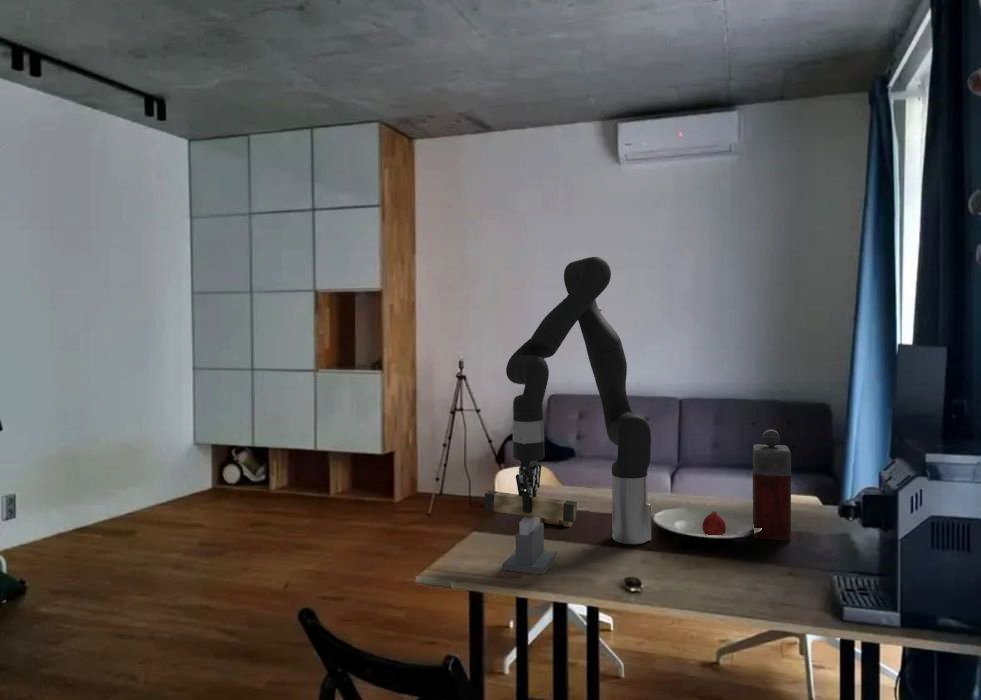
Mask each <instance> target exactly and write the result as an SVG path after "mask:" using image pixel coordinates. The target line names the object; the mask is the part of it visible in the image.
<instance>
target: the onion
mask: <svg viewBox="0 0 981 700" xmlns="http://www.w3.org/2000/svg"><path fill="white" fill-rule="evenodd" d="M702 531H703V533H704V534H705V535H706V534H708V535H723V534H724V535H725V533H726V531H727V525H726V521H725V520H724V519H723V517H721V516H720V515H719V514H718V512H717V510H713V511H712V512H711V513H710V514H708V515H707V516H706V517H705V518H704V519H703V522H702ZM724 535H723V536H724Z"/></svg>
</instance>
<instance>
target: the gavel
mask: <svg viewBox="0 0 981 700" xmlns="http://www.w3.org/2000/svg"><path fill="white" fill-rule="evenodd" d="M540 523H544V524H547V525H553V526H554V525H555V526H562V527H567V528H570V527H572V525H573V523H574V522H566V521H561V520H554V519H547V518H540Z"/></svg>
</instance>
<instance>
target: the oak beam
mask: <svg viewBox="0 0 981 700" xmlns="http://www.w3.org/2000/svg"><path fill="white" fill-rule="evenodd" d="M577 503H578V502H577V500H575V501H574V500H567V499H565V500H564V499H557V498H551V497H550V498H549V497H541V496H536V497H534V496H532V512H531V513H524V512H523V498H522V497H521V496H519V493H518V494H516V493H512V492H511V493H509V492H502V491H496V490H488V491H486V492H485V493H484V505H483V506H484V508H483V509H484V511H488V512H496V513H497V512H498V513H504V514H505V513H506V514H512V515H518V516H519V515H520V516H524V517H525V516H532V517H539V518H547V519H554V520H561V521H566V522H573V523H574V522H575V521H576V520H577Z"/></svg>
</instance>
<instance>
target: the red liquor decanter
mask: <svg viewBox="0 0 981 700" xmlns="http://www.w3.org/2000/svg"><path fill="white" fill-rule="evenodd" d="M762 441H763V443H764V444H757V443H756V444H753V446H752V525H753V524H754V528H762V530H761V531H760V532H758V533H756V534H755V535H754V534H753V537H754V539H763V540H775V541H788V542H789V541H790V542H791V541H792V460H791V459H792V453H791V451H790V449H789V447H788V446H787V445H785V444H784V445H783V444H779V443H780V442H781V437H780V434H779V432H777V430H775V429H767V430H765V431H764V432H763V434H762Z"/></svg>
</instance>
